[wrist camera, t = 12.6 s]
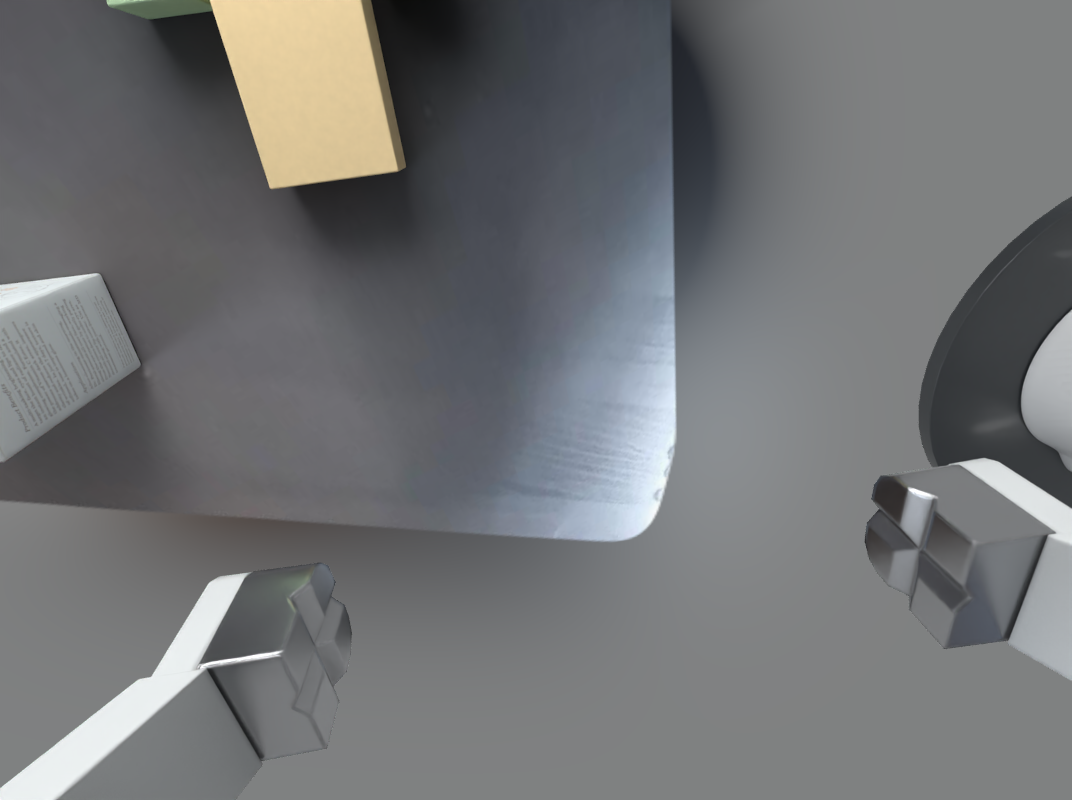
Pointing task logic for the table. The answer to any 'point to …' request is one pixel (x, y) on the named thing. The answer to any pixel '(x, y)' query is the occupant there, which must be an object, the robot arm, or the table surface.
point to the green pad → (161, 7)
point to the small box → (56, 354)
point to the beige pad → (312, 88)
